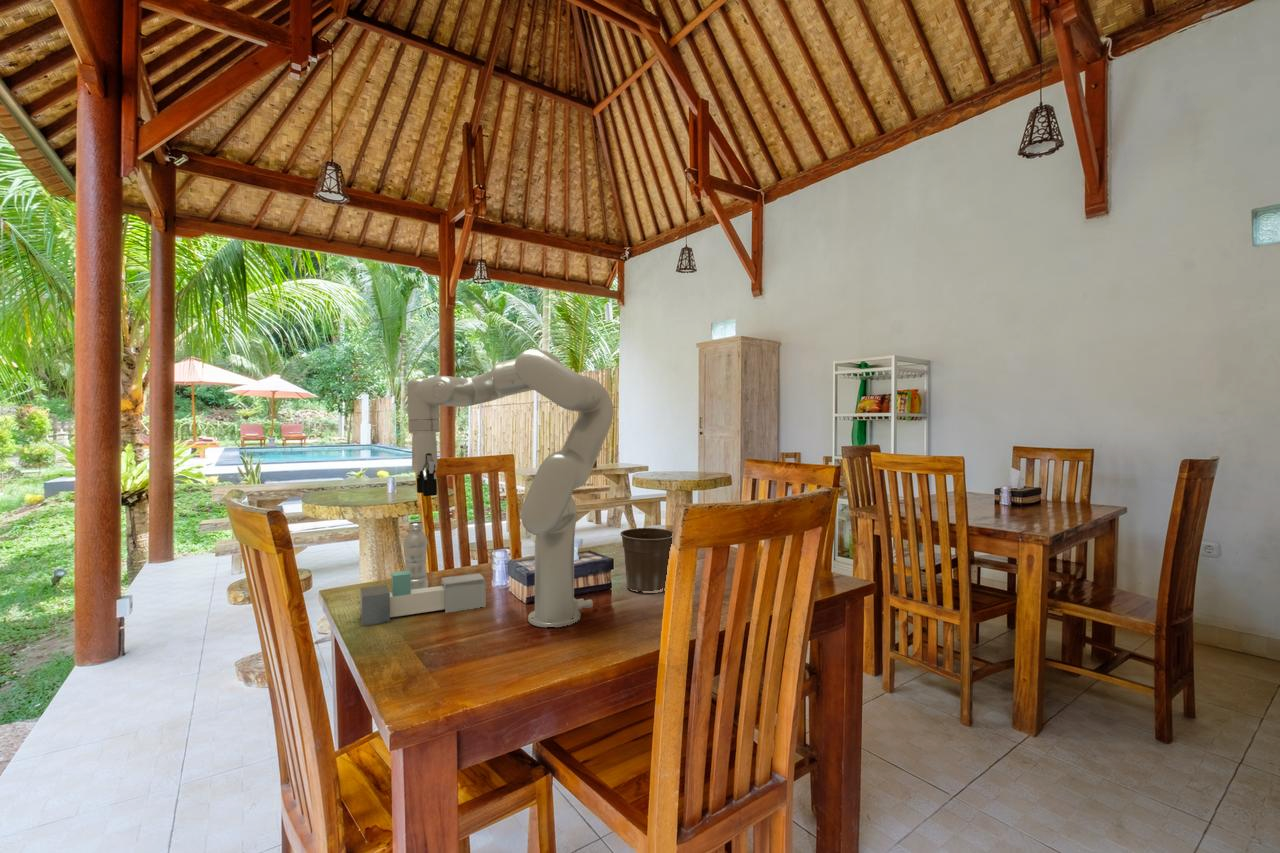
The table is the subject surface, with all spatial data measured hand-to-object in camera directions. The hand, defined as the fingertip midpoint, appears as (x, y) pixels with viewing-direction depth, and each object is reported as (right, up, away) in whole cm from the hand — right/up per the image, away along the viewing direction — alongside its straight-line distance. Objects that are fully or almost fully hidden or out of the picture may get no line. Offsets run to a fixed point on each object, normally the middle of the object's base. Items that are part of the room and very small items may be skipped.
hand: (426, 494), depth 146 cm
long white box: (-3, -30, -3) cm, 30 cm away
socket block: (-10, -30, -7) cm, 32 cm away
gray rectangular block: (+8, -30, +3) cm, 31 cm away
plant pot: (+57, -30, +20) cm, 67 cm away
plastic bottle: (-8, -30, +14) cm, 34 cm away
